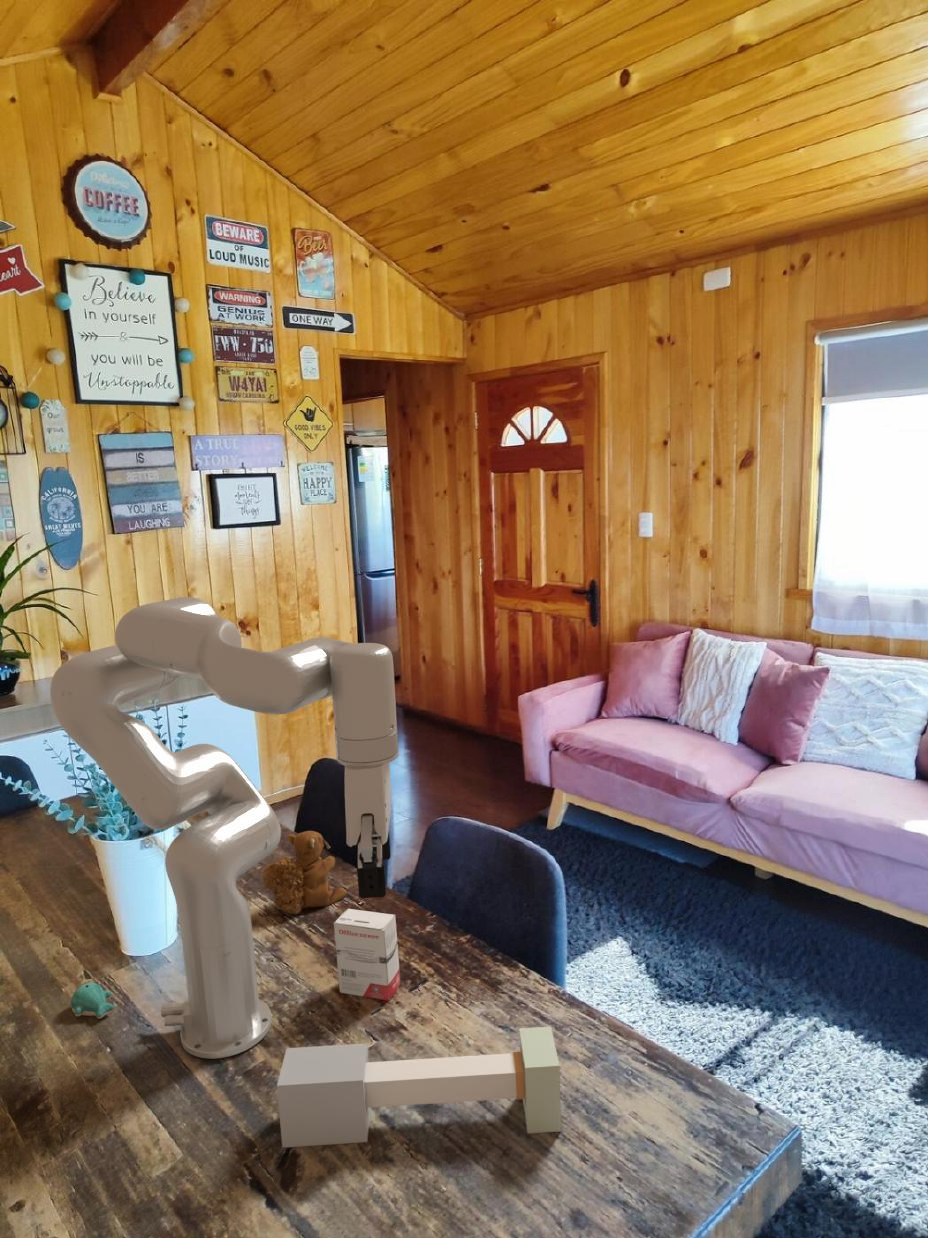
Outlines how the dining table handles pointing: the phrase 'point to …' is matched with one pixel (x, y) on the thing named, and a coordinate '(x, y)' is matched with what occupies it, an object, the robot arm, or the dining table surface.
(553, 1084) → the socket
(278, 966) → the dining table surface
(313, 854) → the stuffed squirrel
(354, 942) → the ink box
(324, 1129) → the grey block
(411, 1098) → the orange-striped white bar
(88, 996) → the whale figurine
